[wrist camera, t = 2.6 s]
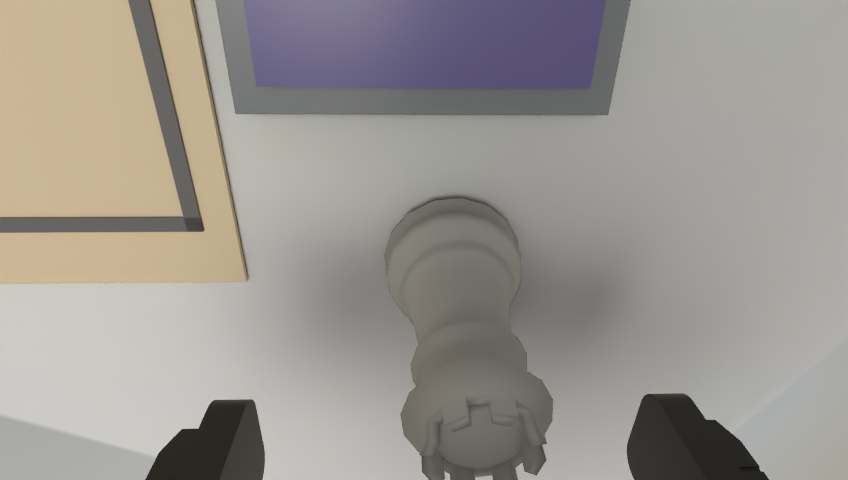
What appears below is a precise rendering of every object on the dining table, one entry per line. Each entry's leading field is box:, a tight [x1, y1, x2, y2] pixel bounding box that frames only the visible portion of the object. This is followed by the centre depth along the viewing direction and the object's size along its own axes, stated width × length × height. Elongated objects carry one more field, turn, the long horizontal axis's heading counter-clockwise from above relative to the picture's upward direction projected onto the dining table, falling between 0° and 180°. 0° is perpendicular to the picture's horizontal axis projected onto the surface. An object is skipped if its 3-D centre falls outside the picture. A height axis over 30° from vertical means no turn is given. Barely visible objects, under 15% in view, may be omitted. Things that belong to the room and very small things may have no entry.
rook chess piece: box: [385, 198, 553, 480], centre depth 13 cm, size 4×4×8 cm
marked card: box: [0, 0, 248, 284], centre depth 13 cm, size 11×13×1 cm
